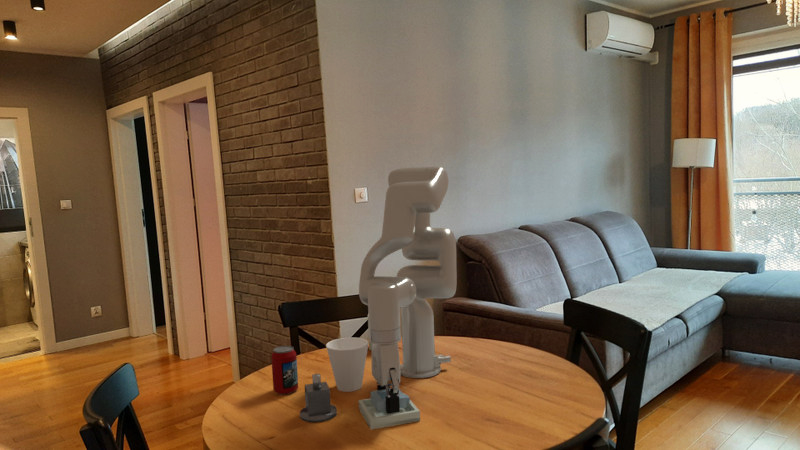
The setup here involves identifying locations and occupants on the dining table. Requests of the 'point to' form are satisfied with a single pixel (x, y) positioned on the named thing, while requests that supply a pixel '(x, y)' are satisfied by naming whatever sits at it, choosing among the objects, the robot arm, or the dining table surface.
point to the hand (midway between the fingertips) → (388, 405)
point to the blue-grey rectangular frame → (380, 399)
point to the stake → (317, 402)
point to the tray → (388, 415)
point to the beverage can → (284, 370)
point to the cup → (348, 362)
